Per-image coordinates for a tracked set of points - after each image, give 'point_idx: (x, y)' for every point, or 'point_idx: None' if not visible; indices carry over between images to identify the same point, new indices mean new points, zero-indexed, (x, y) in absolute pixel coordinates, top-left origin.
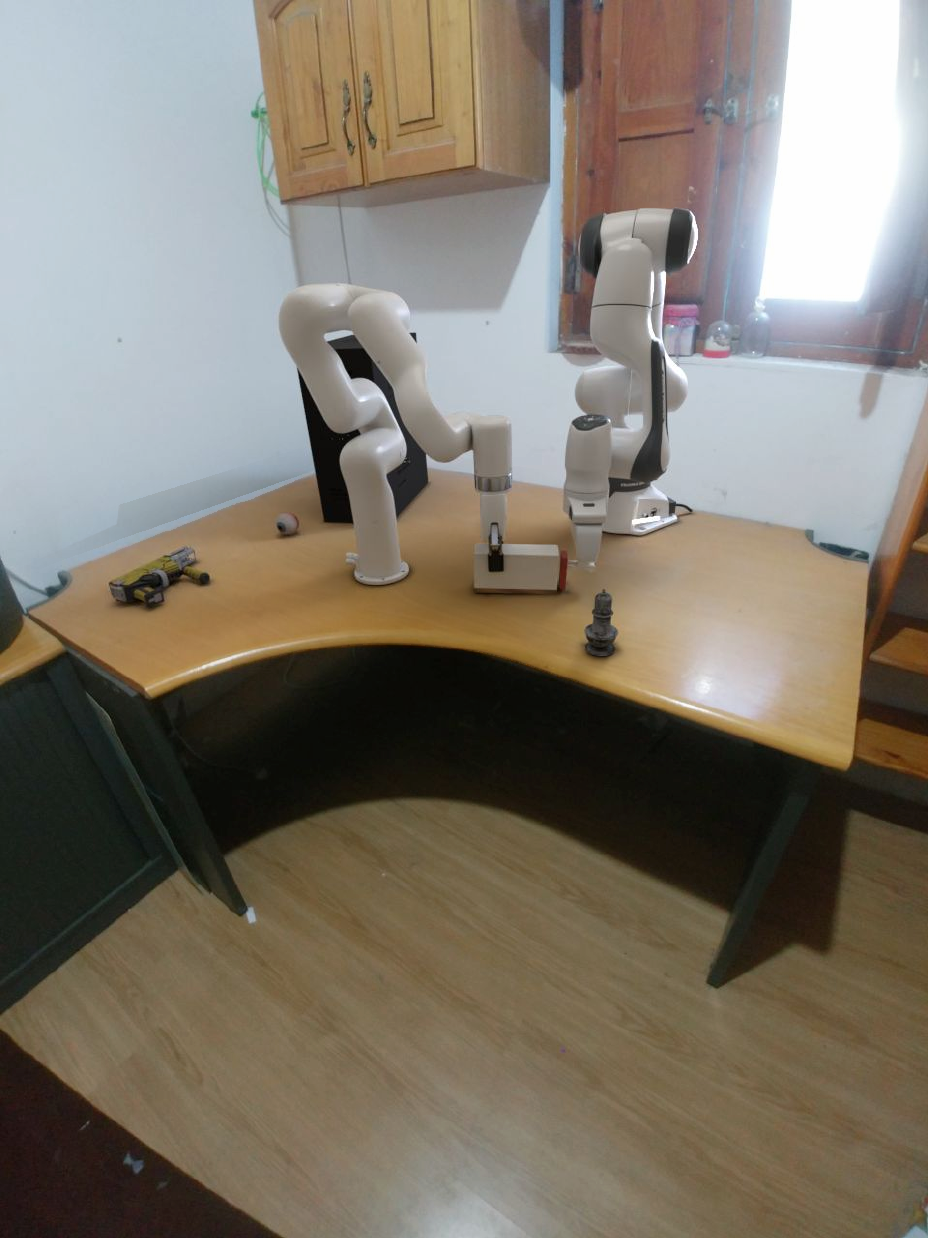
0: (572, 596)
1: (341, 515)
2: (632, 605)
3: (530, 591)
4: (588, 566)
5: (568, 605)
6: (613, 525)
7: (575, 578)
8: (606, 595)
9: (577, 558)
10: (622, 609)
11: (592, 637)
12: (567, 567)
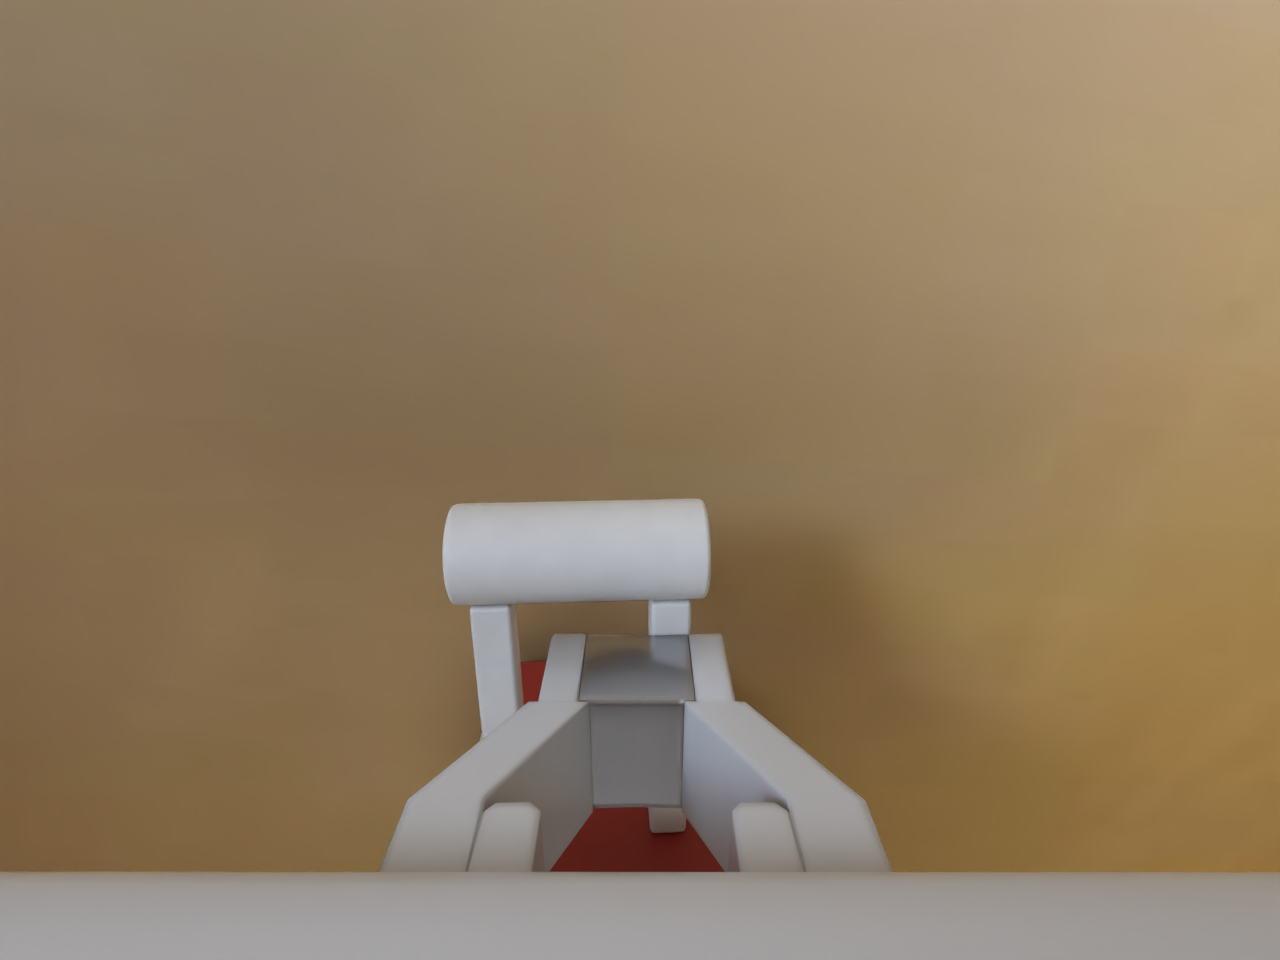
0: (757, 586)
1: None
2: (1028, 10)
3: None
4: (677, 599)
5: (910, 621)
6: None
7: (391, 544)
8: None
9: (615, 799)
10: (1086, 149)
11: None
12: (686, 819)
